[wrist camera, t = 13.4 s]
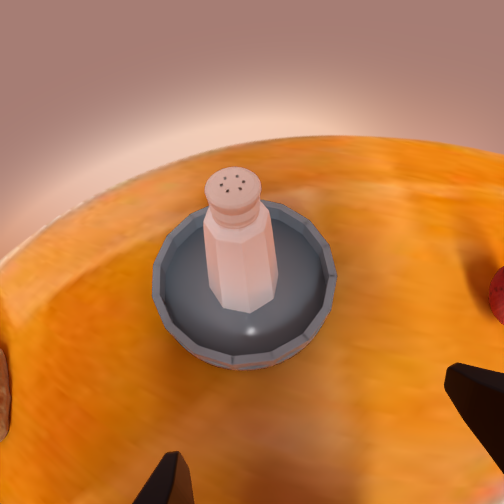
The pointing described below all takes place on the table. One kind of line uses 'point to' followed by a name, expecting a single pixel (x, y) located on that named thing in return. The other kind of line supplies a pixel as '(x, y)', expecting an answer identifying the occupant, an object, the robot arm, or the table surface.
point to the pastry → (4, 396)
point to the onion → (497, 295)
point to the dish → (236, 322)
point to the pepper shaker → (239, 241)
